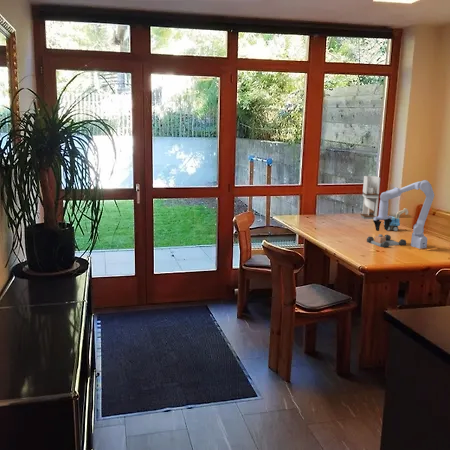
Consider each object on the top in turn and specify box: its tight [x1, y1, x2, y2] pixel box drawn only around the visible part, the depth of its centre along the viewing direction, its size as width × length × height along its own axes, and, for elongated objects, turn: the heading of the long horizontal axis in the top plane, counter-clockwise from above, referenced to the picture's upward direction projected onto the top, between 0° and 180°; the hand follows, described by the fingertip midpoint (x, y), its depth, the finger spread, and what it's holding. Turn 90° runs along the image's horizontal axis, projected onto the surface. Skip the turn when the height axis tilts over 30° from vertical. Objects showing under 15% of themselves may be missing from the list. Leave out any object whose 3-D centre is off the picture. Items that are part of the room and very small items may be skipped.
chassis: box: [366, 234, 407, 249], centre depth 324 cm, size 16×20×5 cm
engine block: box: [374, 233, 386, 243], centre depth 322 cm, size 5×4×6 cm
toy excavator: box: [383, 207, 409, 232], centre depth 368 cm, size 9×17×17 cm, turn 78°
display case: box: [360, 175, 381, 220], centre depth 413 cm, size 11×11×35 cm
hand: (381, 230), depth 325 cm, fingers open, 7 cm apart
